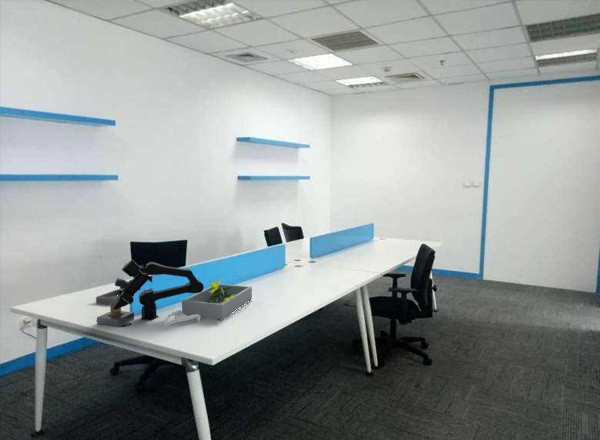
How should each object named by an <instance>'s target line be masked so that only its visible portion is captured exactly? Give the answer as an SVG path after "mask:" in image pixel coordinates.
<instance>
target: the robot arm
mask: <svg viewBox="0 0 600 440" xmlns="http://www.w3.org/2000/svg"><path fill="white" fill-rule="evenodd" d="M121 271H122V272H124V273H125V274H126V275H127V276H129V277H130V278H133V279H130V280H128V281H127V280H125V279H123V278H119V277H117V278H116V280H115V282H114V286H115V287H119V295H118V296H120V300H119V301H118V303H117V304H116V305H115V307H114V308H113V309H114V310H117V309H119V308H121V309H122V308H123V307H127V306H128V305H132V304H133V302H135V301H134V298H135V297H133V296H134V294H135V295H136V293H137V292H139V291H141V289H142V287H143V286H144V285H145V284H146V283H147V282H148V281H149V282H150V283H153V276H160V275H166V276H173V277H174V276H175V277H183V278H187V280H188V282H186V283H185V284H183V285H182V284H181V285H179V286H175V287H169V288H168V287H167V288H165V289H160V290H154V288H149V289H143V291H141V292H140V293H139V295H138V301H139V304H140V305H142V306H141V317H140V318H139V319H140V320H145V321H153V320H155V319H157V318H158V317H159V315H157V313H158V312H157V303H156V302H157V301H158V300H162V299H167V298H170V297H175V296H179V295H182V294H183V295H184V294H197V293H200V292H202V291H203V290H204V288H205V287H204V284H203V282H202V281H201V280H200V279H197V278H196V276H195V275H194V273H193V271H192V270H191V269H189V268H179V267H175V266H174V267H173V266H166V265H163V264H160V263H156V262H155V261H148V263H146V264H142V265H139V264H138V263H136V262H135V260H133V259H131V260H130V261H128V262H127V263H125V264H124V265H123V266H122V268H121Z"/></svg>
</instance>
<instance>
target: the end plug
mask: <svg viewBox="0 0 600 440" xmlns="http://www.w3.org/2000/svg"><path fill="white" fill-rule="evenodd" d="M119 300H120V296H112V297H110V311H109V312H111V317H119V316H121V311H122V307H121V308H119V309H117V310H114V309H113V308H114V307H115V305H116V304H117V303H118V301H119Z"/></svg>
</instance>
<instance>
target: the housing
mask: <svg viewBox="0 0 600 440" xmlns="http://www.w3.org/2000/svg"><path fill="white" fill-rule="evenodd" d="M134 320H135V312H133V311H123V310H121V316H119V317H111V311H108V312H106V313H104V314H102V315H101V314H100V316H97V317H96V325H100V326H106V327H114V328H115V327H117V328H119V327H121V326H123V325H126V324H128V323H129V322H132V321H134ZM125 323H126V324H125Z"/></svg>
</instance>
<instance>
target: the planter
mask: <svg viewBox="0 0 600 440" xmlns="http://www.w3.org/2000/svg"><path fill="white" fill-rule="evenodd" d="M219 287H220V288H225V287H232V288H230V289H227V290H223V292H224V293H225V292H227V293H226V294H225V295H228V294H232V293H234V294H235V295H234V294H233V296H234V297H232V298H230V299H228V300H227V301H225V302H223V301H222V303H221V304H220V303H217V302H216V303H215V302H214V303H212V301H213V299H214V298H215V297H213V298H212V296H213V295H215V294H210V293H212V292H213V291H212V292H209V291H211V290H213V287H210V286H209V287H206V288H205V289H203V290H202V292H200V293H194V294H193V295H191V296H189V297H187V298H184V299H182V300H181V311H182V313H183V314H185V315H186V316H191V315H196V314H199V315H200V316H201V318H200V319H205V318H211V319H210V320H214V319H220V320H219V321H224V320H225V319H226V317H227V316H228V315H230V314H231V313H232V312H234V311H235V310H236V309H238V308H239V307H241V306H242V305H244V304H245V303H246V302H248V301H249V300H251V299H252V300H253V287H252V286H247V285H237V284H236V285H235V284H227V283H226V284H224V283H220V284H219ZM214 292H215V291H214ZM216 294H217V293H216ZM220 295H222V293H220ZM231 296H232V295H231ZM231 296H229V297H231ZM229 297H227V298H229ZM252 300H251V301H252ZM208 302H209V303H208ZM248 303H249V302H248ZM245 305H246V304H245ZM245 305H244V306H245ZM242 307H243V306H242ZM242 307H241V308H242ZM238 310H239V309H238ZM235 312H236V311H235ZM235 312H234V313H235ZM232 314H233V313H232ZM232 314H231V315H232ZM231 315H230V316H231ZM228 317H229V316H228ZM228 317H227V318H228ZM224 318H225V319H224ZM223 319H224V320H223Z"/></svg>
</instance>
